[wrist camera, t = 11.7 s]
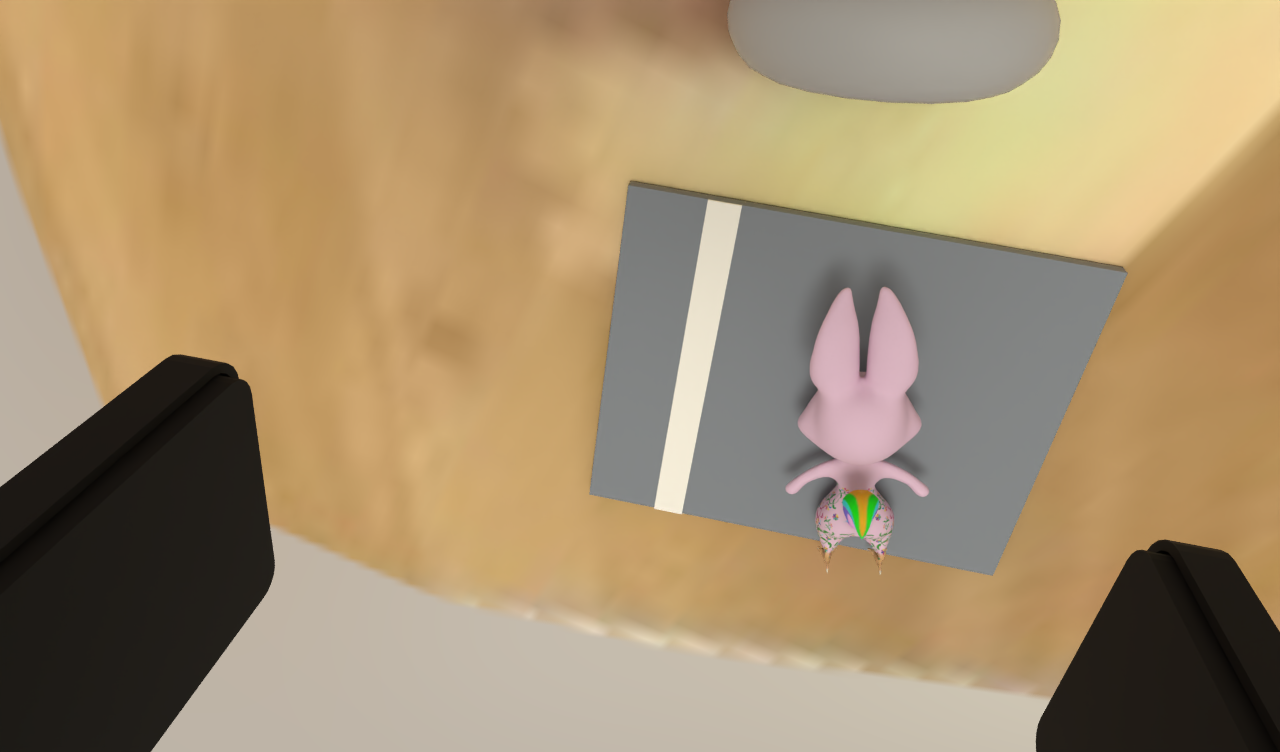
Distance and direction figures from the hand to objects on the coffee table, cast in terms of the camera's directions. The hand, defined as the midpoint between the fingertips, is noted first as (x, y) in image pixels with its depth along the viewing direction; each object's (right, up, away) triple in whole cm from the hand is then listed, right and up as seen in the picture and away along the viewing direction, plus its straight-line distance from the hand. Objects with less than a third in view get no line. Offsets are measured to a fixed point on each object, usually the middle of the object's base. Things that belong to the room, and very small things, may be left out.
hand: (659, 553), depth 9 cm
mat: (+8, +1, +30) cm, 31 cm away
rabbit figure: (+10, 0, +30) cm, 31 cm away
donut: (+8, +15, +22) cm, 28 cm away
